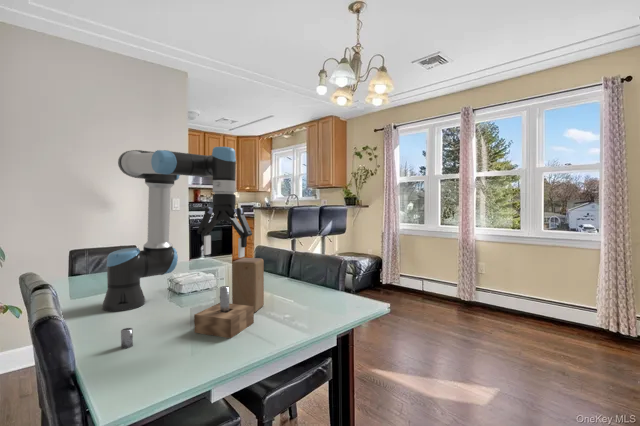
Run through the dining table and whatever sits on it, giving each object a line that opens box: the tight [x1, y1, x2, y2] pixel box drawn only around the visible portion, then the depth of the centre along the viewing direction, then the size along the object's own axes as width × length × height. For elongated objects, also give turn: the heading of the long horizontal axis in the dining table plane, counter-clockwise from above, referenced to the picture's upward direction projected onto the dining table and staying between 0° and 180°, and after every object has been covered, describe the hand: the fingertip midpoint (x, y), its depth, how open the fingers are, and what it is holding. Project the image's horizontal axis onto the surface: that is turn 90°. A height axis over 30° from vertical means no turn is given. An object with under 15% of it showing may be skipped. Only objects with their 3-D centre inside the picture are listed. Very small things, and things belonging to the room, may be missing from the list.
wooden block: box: [231, 257, 265, 313], centre depth 133 cm, size 10×10×20 cm
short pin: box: [120, 327, 134, 350], centre depth 98 cm, size 3×3×5 cm
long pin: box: [219, 285, 230, 313], centre depth 112 cm, size 3×3×14 cm
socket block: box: [193, 302, 255, 339], centre depth 113 cm, size 14×14×6 cm
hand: (224, 255), depth 112 cm, fingers open, 13 cm apart
